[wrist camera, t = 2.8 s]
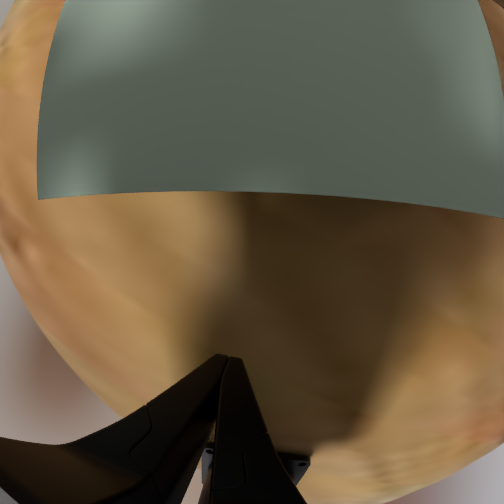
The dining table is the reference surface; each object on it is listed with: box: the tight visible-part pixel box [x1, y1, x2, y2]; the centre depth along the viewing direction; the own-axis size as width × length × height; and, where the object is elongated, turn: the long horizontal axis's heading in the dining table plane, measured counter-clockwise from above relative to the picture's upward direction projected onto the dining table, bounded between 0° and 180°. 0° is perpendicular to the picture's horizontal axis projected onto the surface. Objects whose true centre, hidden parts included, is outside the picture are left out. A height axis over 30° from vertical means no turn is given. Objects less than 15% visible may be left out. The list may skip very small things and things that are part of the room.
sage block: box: [37, 0, 504, 219], centre depth 6 cm, size 7×12×4 cm, turn 89°
